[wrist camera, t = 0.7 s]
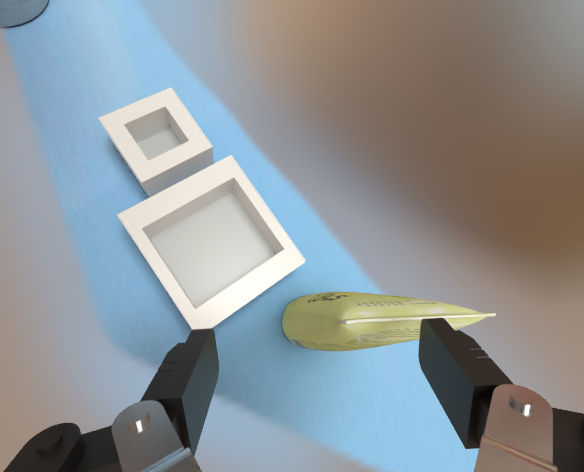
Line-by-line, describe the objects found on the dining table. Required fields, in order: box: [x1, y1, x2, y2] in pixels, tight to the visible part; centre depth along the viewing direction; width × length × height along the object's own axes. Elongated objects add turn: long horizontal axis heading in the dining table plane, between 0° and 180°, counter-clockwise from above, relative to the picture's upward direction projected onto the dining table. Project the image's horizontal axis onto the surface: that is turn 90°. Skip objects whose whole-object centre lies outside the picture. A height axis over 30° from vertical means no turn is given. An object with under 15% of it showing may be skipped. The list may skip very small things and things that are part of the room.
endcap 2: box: [117, 155, 306, 330], centre depth 30 cm, size 12×11×4 cm
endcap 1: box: [98, 88, 213, 198], centre depth 31 cm, size 7×7×4 cm
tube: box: [282, 292, 496, 351], centre depth 23 cm, size 6×5×20 cm
